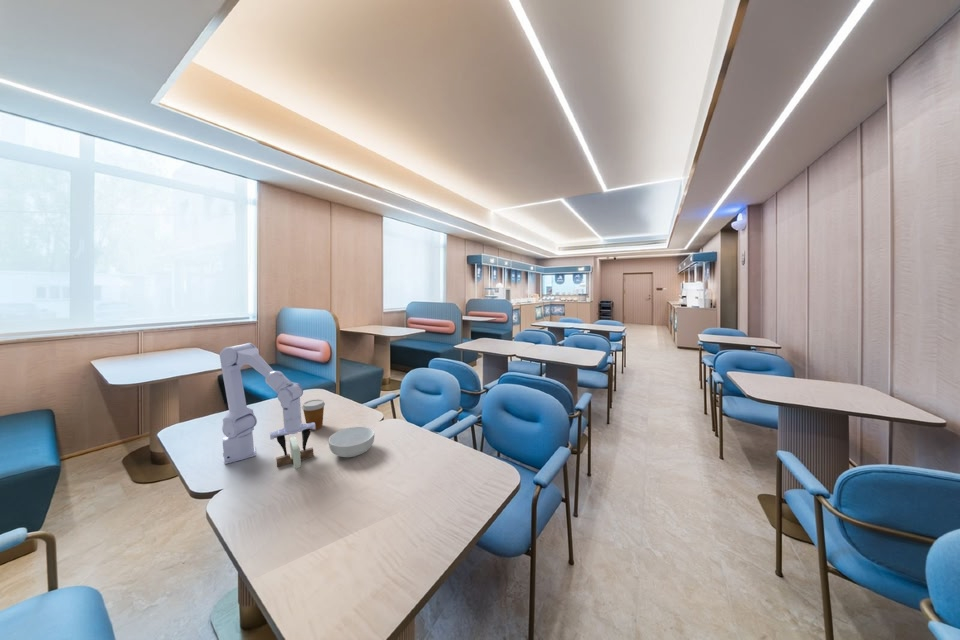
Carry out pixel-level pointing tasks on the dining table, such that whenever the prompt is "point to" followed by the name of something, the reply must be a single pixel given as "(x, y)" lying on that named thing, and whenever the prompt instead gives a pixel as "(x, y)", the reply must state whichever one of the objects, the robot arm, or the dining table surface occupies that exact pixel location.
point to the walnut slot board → (287, 459)
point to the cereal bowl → (351, 441)
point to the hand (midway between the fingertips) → (295, 451)
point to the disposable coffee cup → (314, 412)
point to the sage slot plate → (295, 452)
